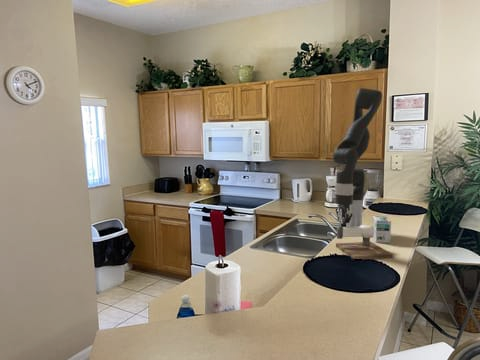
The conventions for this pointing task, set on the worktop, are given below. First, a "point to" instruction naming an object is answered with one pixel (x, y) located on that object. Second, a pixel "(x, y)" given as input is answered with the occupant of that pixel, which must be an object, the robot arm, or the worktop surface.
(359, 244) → the base
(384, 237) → the light bulb box
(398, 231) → the worktop surface
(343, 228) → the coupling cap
